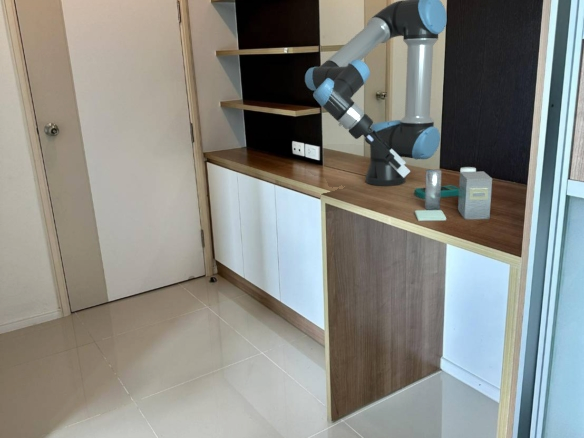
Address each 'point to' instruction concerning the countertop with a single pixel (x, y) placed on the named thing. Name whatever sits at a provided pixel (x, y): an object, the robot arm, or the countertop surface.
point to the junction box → (474, 195)
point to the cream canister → (468, 169)
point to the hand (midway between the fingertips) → (404, 169)
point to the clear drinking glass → (433, 189)
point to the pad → (429, 215)
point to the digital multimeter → (445, 191)
